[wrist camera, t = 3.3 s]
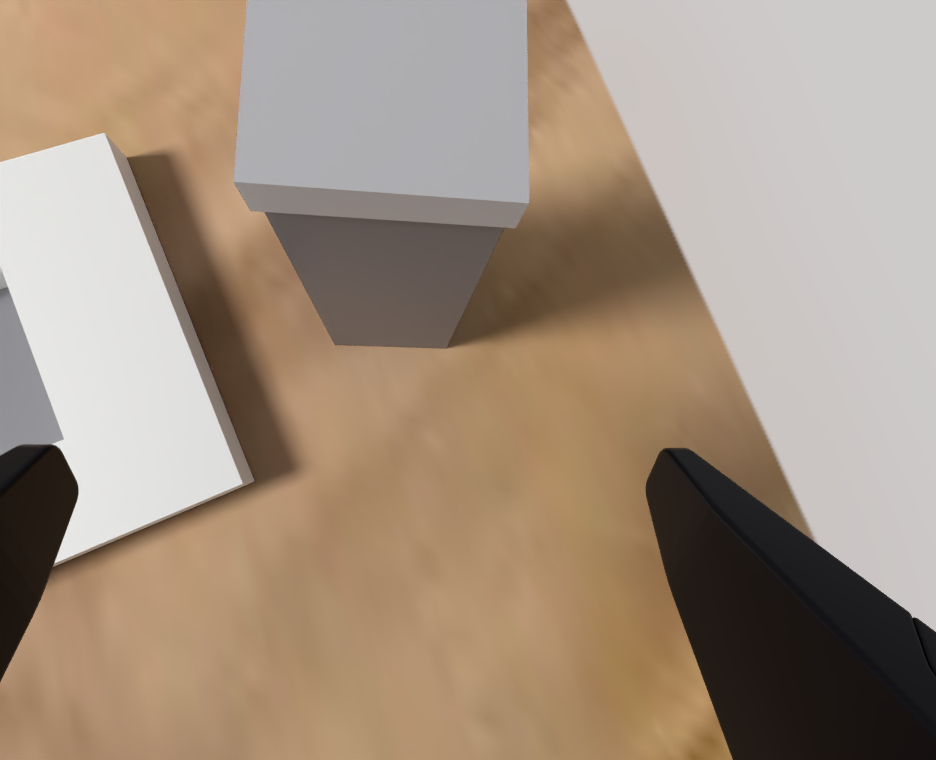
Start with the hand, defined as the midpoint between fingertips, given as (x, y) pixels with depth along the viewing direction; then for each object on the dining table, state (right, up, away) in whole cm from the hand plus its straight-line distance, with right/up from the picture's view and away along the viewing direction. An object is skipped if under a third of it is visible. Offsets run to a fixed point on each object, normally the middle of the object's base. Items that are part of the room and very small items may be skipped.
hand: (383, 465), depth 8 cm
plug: (-2, +5, +14) cm, 15 cm away
